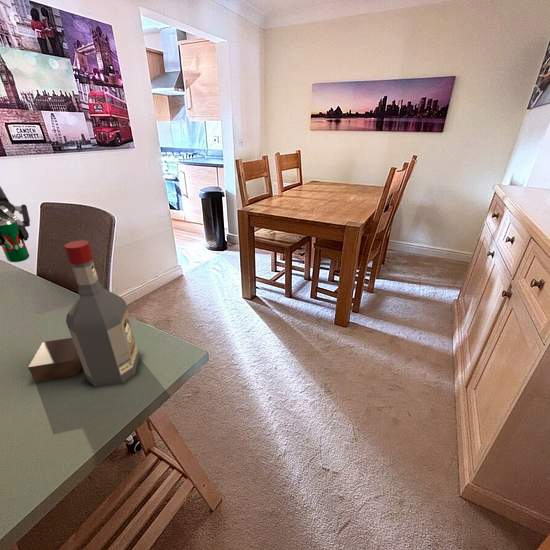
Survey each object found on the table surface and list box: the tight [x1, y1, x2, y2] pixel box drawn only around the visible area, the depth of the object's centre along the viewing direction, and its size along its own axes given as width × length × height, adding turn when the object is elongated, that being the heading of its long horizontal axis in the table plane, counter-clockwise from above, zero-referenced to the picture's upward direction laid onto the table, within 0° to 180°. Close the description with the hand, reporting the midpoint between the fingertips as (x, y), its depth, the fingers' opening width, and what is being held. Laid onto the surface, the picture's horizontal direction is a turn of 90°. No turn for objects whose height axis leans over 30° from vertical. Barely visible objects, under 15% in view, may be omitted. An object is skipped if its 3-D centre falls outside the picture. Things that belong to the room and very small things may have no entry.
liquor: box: [64, 239, 140, 387], centre depth 59 cm, size 9×9×30 cm
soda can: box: [0, 217, 30, 263], centre depth 84 cm, size 5×5×12 cm
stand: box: [27, 337, 83, 383], centre depth 66 cm, size 8×8×5 cm
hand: (13, 241), depth 83 cm, fingers closed on soda can, 5 cm apart
